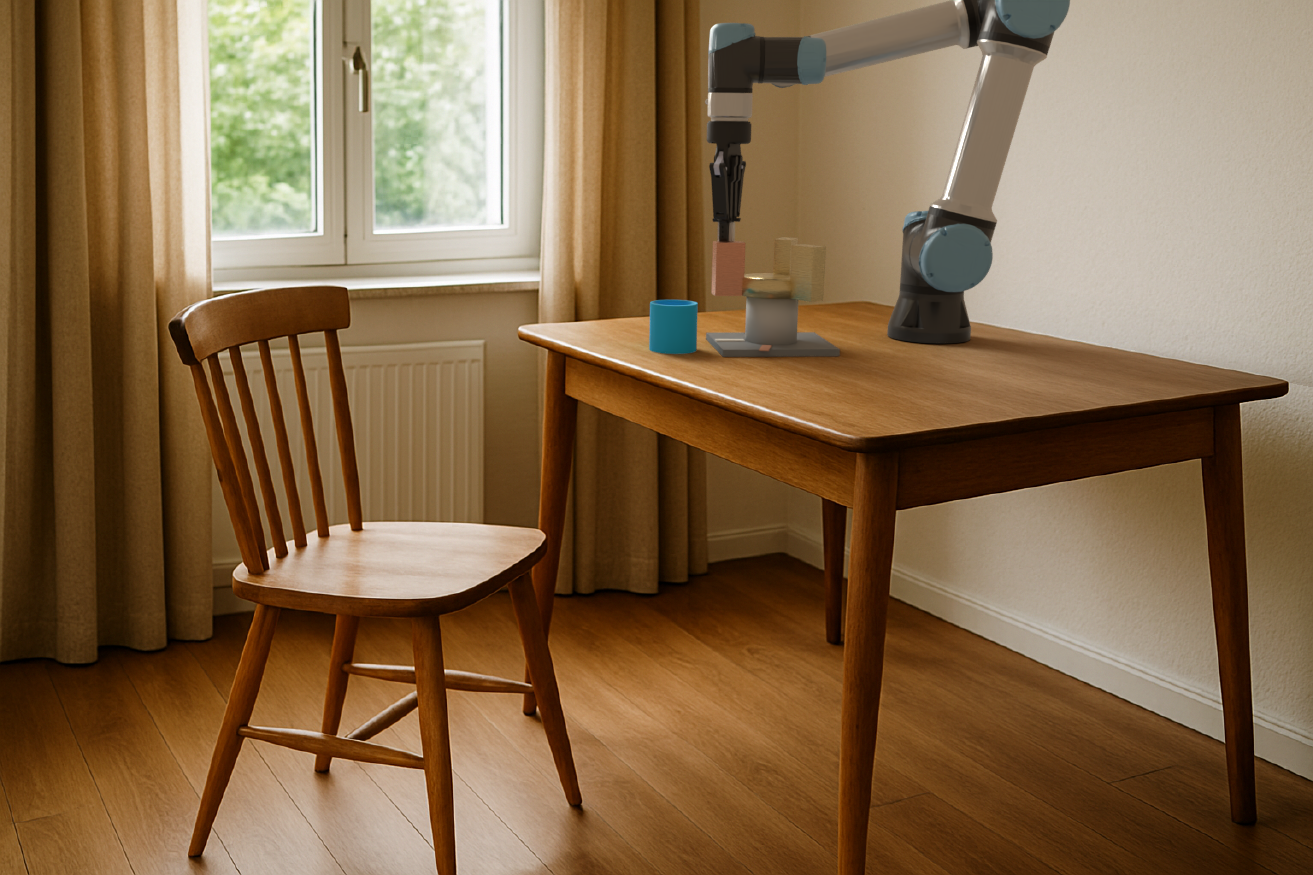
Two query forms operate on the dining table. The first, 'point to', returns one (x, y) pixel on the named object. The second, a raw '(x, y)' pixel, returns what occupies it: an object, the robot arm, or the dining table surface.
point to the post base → (777, 350)
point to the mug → (673, 326)
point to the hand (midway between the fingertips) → (725, 260)
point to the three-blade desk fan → (791, 277)
